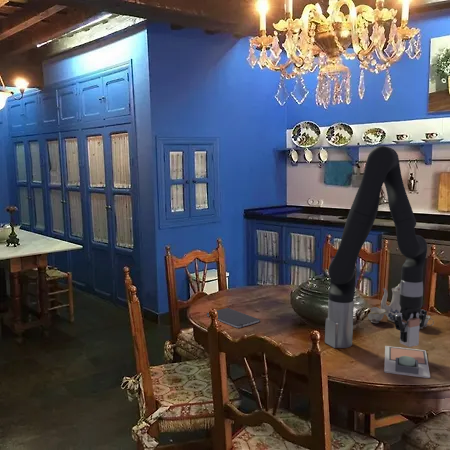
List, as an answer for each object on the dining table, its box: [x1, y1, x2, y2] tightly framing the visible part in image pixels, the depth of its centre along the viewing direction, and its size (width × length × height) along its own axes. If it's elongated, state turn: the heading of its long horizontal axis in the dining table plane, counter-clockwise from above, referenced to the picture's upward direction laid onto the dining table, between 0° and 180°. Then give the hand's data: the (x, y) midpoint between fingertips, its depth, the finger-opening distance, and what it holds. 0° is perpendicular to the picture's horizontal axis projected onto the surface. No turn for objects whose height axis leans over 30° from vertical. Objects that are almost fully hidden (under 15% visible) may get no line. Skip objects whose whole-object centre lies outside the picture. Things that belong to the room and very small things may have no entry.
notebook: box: [206, 307, 261, 329], centre depth 220 cm, size 13×2×21 cm
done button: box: [399, 356, 415, 367], centre depth 168 cm, size 5×5×2 cm
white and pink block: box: [399, 318, 420, 348], centre depth 178 cm, size 4×4×10 cm
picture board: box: [383, 345, 431, 379], centre depth 176 cm, size 22×14×3 cm, turn 162°
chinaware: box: [367, 283, 435, 330], centre depth 215 cm, size 28×17×17 cm, turn 72°
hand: (409, 340), depth 179 cm, fingers closed on white and pink block, 4 cm apart
